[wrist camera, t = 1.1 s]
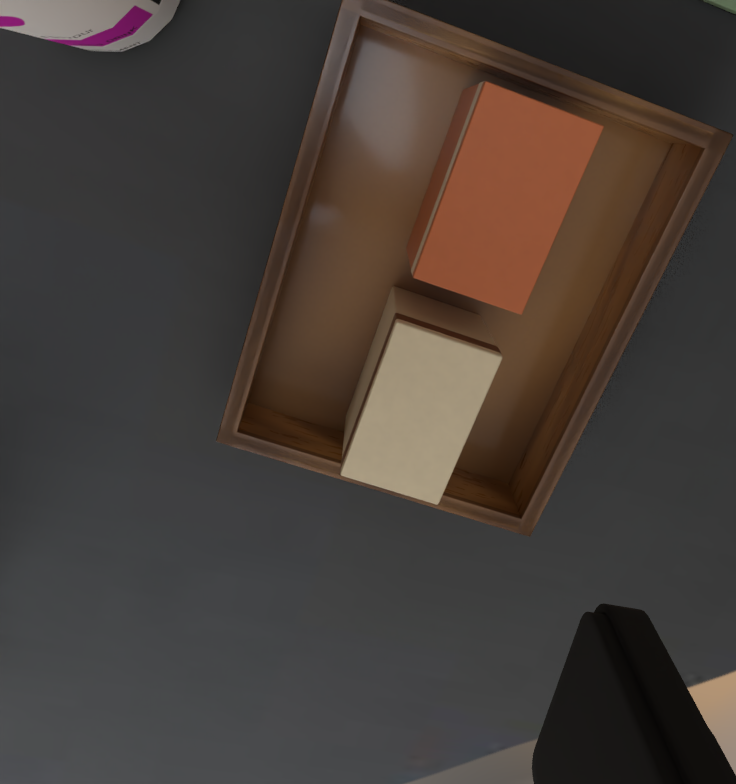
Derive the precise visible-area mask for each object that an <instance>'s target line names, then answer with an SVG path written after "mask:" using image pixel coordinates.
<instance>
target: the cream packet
mask: <svg viewBox="0 0 736 784" xmlns="http://www.w3.org/2000/svg"><path fill="white" fill-rule="evenodd" d="M501 360H502V355H501V351H500V350H499V348H498V347H497V346H496V344H495V342H494V340H493V339H492V337H491V335H490V333H489V331H488V329H487V328H486V326H485V324H484V322H483V320H482V318H481V317H480V315H478V314H475V313H472V312H469V311H466V310H463V309H460V308H457V307H454V306H451V305H448V304H445V303H442V302H439V301H437V300H434V299H431V298H428V297H425V296H422V295H419V294H416V293H413V292H410V291H407V290H404V289H401V288H398V287H395V286H393V287H392V289H391V292H390V295H389V297H388V300H387V303H386V306H385V308H384V311H383V314H382V317H381V320H380V322H379V325H378V328H377V331H376V334H375V336H374V339H373V342H372V345H371V347H370V350H369V353H368V356H367V359H366V361H365V364H364V367H363V370H362V372H361V375H360V378H359V381H358V384H357V386H356V389H355V392H354V395H353V398H352V400H351V403H350V406H349V409H348V411H347V414H346V421H345V431H344V441H343V452H342V459H341V466H340V471H341V472H340V475H341V476H344V477H348V478H351V479H354V480H357V481H361V482H364V483H367V484H371V485H374V486H377V487H380V488H384V489H387V490H390V491H394V492H397V493H400V494H403V495H407V496H410V497H413V498H417V499H420V500H423V501H426V502H430V503H433V504H436V505H438V504H439V502H440V500H441V497H442V495H443V493H444V490H445V488H446V486H447V484H448V481H449V479H450V477H451V474H452V472H453V470H454V468H455V465H456V463H457V461H458V459H459V456H460V454H461V452H462V449H463V447H464V445H465V443H466V440H467V438H468V436H469V433H470V431H471V429H472V427H473V424H474V422H475V420H476V417H477V415H478V413H479V411H480V408H481V406H482V404H483V401H484V399H485V397H486V395H487V392H488V390H489V388H490V385H491V383H492V381H493V379H494V376H495V374H496V372H497V369H498V367H499V365H500V363H501Z"/></svg>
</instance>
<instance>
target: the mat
mask: <svg viewBox="0 0 736 784" xmlns="http://www.w3.org/2000/svg"><path fill="white" fill-rule="evenodd" d="M702 1H704V2H707V3H709V4H711V5H714V6H716V7H719V8H721V9H724V10H726V11H728V12H731V13H733V14H736V0H702Z"/></svg>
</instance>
